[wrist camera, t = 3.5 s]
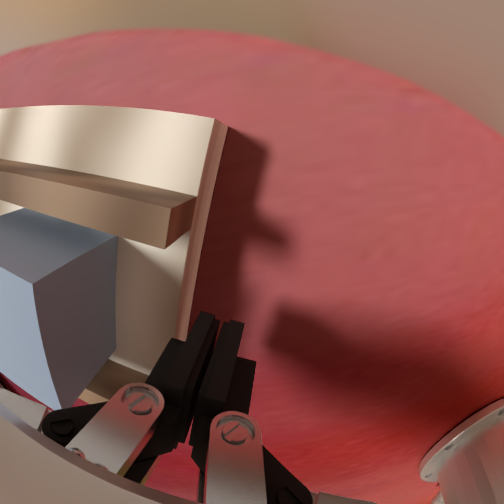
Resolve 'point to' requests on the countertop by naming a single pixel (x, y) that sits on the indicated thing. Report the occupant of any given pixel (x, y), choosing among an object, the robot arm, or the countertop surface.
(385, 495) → the countertop surface
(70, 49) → the countertop surface
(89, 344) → the slate block
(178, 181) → the tunnel board
